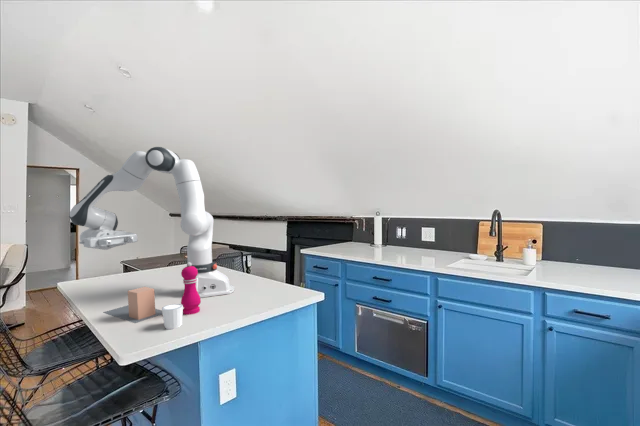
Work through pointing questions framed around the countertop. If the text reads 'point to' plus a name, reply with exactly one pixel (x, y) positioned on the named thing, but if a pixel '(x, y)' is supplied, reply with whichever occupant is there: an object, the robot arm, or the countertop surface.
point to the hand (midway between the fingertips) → (120, 241)
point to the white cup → (172, 315)
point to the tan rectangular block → (141, 302)
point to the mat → (124, 314)
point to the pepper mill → (190, 290)
